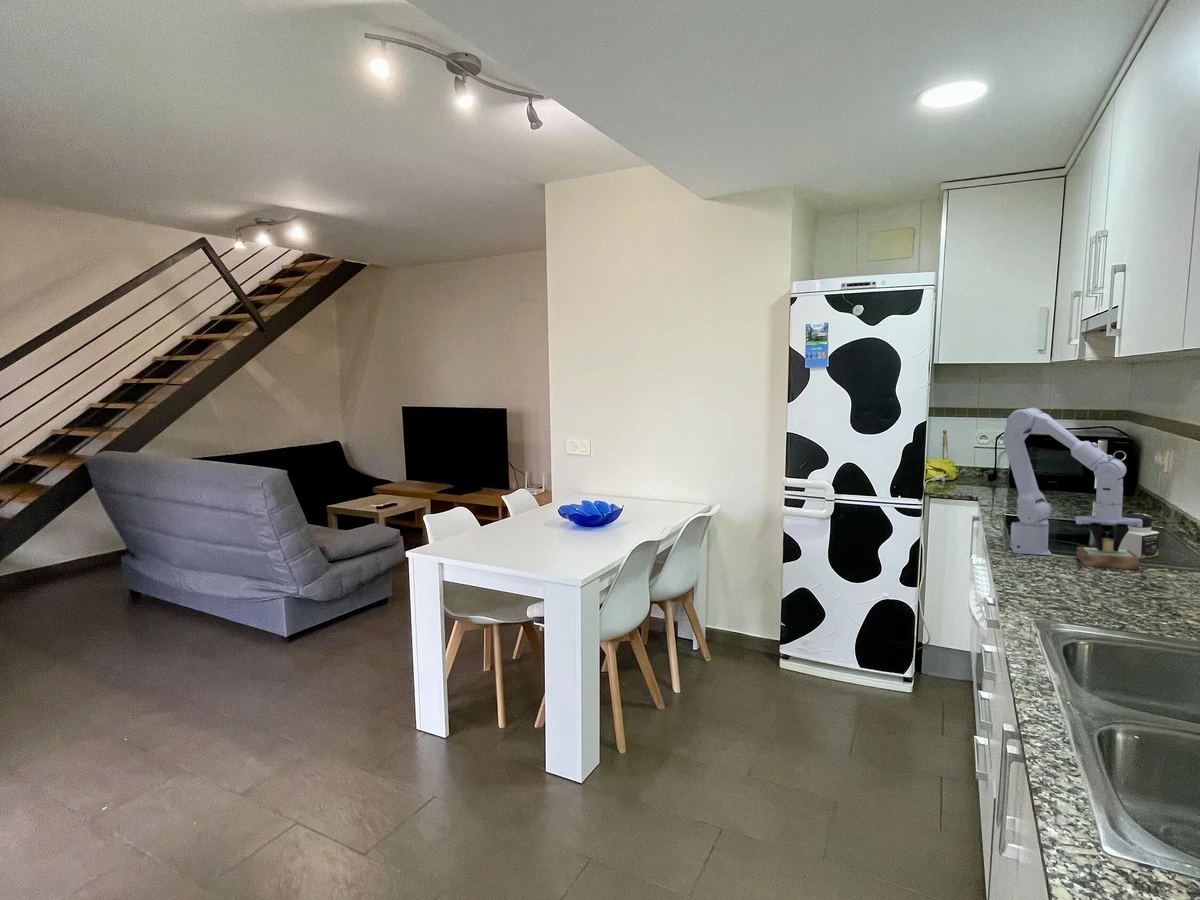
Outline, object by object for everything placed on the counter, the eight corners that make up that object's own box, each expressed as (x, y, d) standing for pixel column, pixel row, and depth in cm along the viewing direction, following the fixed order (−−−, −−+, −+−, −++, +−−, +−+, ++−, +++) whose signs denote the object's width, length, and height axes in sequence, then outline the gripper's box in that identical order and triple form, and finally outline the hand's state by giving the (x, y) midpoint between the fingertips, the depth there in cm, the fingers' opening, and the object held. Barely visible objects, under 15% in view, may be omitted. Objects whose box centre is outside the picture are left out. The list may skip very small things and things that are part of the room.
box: (1084, 566, 175) (1084, 555, 175) (1076, 557, 183) (1077, 546, 183) (1139, 570, 170) (1139, 558, 169) (1128, 561, 178) (1129, 549, 177)
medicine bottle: (1141, 558, 179) (1143, 518, 178) (1114, 552, 186) (1116, 513, 185) (1158, 555, 181) (1160, 515, 180) (1131, 549, 188) (1133, 511, 187)
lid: (1088, 557, 175) (1089, 541, 175) (1082, 550, 181) (1083, 535, 181) (1132, 559, 171) (1133, 543, 170) (1125, 553, 177) (1125, 537, 176)
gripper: (1080, 504, 174) (1079, 551, 175) (1147, 506, 168) (1144, 555, 169) (1074, 499, 180) (1073, 545, 182) (1138, 501, 174) (1136, 549, 175)
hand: (1107, 550), depth 176 cm, fingers closed on lid, 3 cm apart
